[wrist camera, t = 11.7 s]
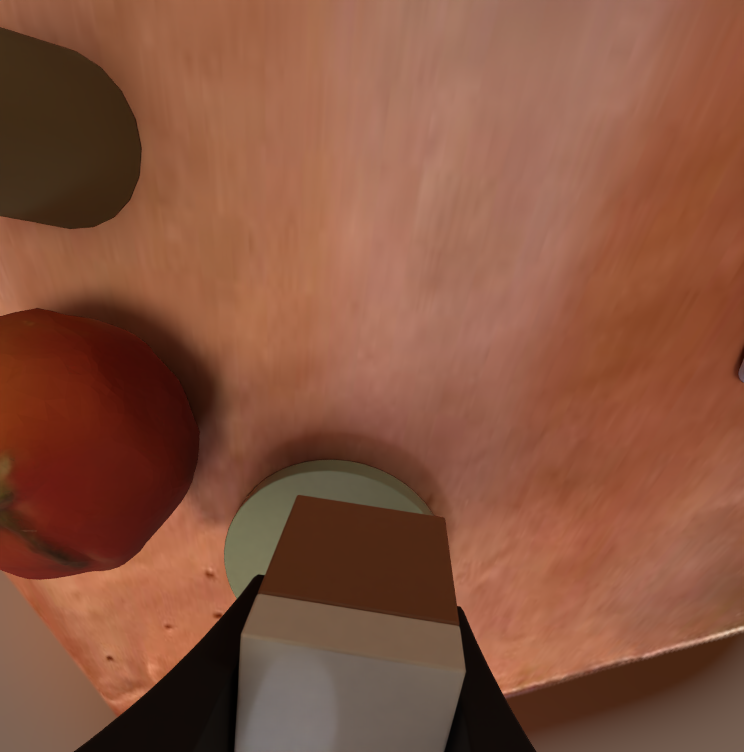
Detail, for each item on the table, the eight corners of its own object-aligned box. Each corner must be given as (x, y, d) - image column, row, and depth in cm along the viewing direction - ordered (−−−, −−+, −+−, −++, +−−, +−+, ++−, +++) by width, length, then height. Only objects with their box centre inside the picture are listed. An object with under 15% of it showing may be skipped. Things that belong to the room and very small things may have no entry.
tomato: (-7, 297, 19) (-290, 345, 11) (212, 293, 18) (69, 340, 10) (49, 496, 22) (-146, 642, 14) (240, 499, 21) (144, 654, 13)
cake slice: (445, 516, 12) (467, 672, 8) (415, 657, 14) (419, 850, 9) (297, 493, 12) (239, 634, 8) (283, 635, 14) (229, 817, 10)
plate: (464, 478, 20) (467, 491, 19) (424, 653, 23) (425, 672, 22) (236, 442, 20) (228, 453, 19) (227, 620, 23) (220, 636, 22)
